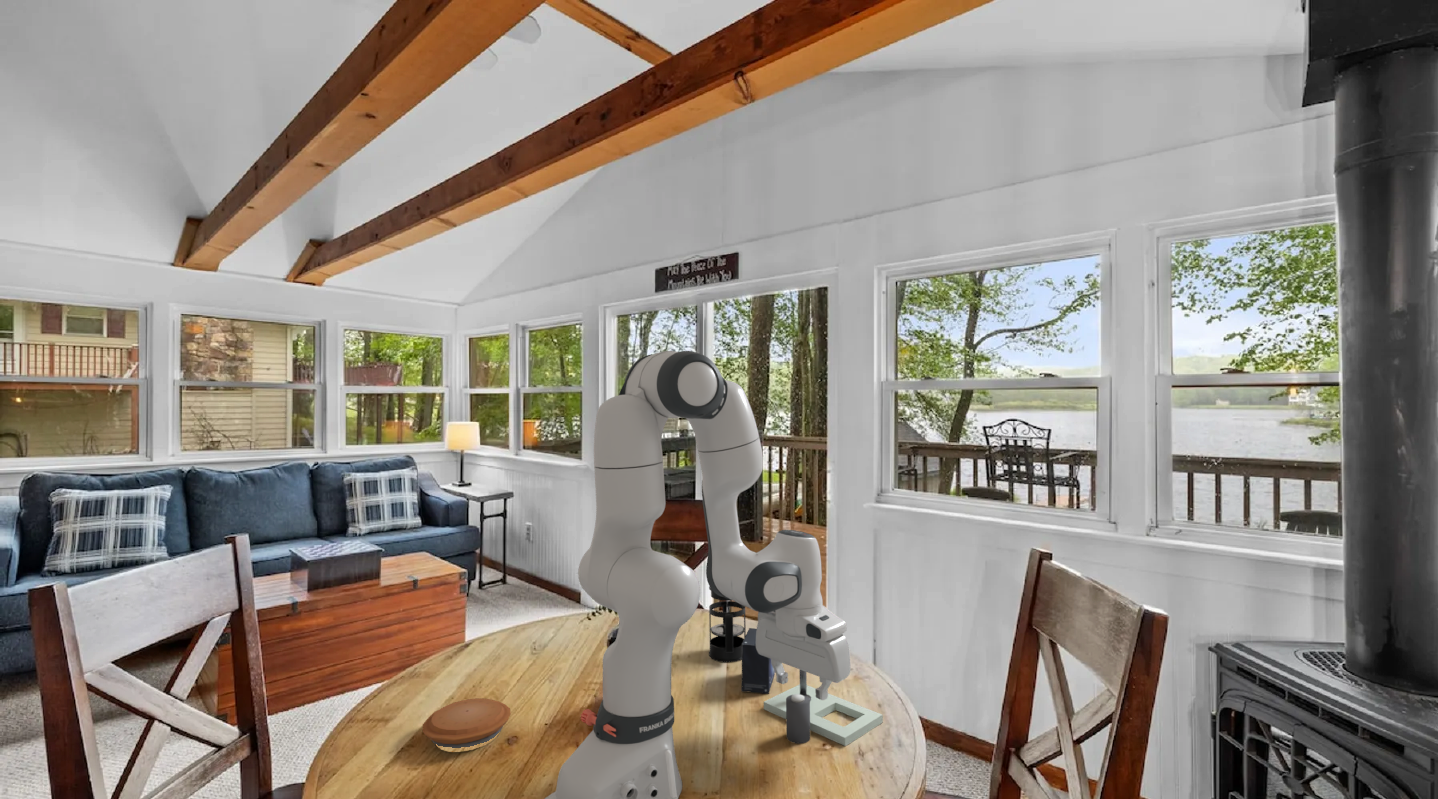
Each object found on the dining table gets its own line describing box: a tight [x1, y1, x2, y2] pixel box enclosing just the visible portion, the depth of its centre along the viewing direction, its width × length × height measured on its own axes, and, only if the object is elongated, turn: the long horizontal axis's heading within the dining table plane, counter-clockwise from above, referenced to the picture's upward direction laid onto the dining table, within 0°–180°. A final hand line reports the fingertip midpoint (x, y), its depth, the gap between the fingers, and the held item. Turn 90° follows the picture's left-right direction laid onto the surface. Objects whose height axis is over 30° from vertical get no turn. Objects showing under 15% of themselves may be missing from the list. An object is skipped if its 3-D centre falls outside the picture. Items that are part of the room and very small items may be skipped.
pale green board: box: [763, 683, 884, 747], centre depth 129 cm, size 12×20×2 cm, turn 44°
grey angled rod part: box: [799, 669, 811, 701], centre depth 134 cm, size 7×3×10 cm, turn 134°
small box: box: [740, 627, 776, 695], centre depth 144 cm, size 11×6×10 cm, turn 168°
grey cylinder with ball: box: [785, 694, 811, 745], centre depth 121 cm, size 4×4×8 cm
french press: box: [708, 586, 747, 663], centre depth 160 cm, size 12×9×23 cm
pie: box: [421, 697, 512, 748], centre depth 122 cm, size 15×16×5 cm
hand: (801, 690), depth 121 cm, fingers open, 8 cm apart
